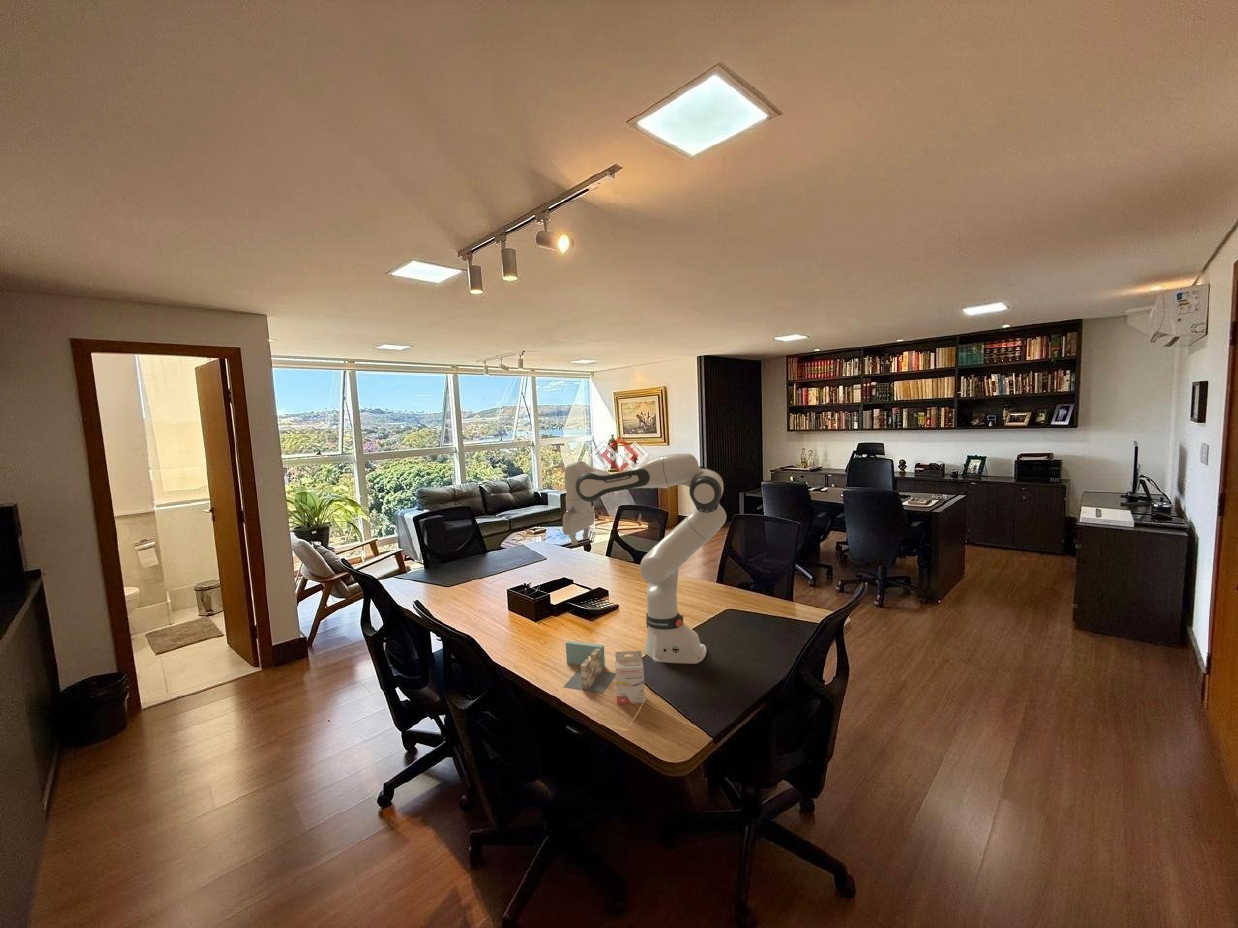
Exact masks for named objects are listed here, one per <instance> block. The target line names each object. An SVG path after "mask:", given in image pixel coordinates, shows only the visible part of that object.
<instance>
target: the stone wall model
mask: <svg viewBox="0 0 1238 928" xmlns="http://www.w3.org/2000/svg"><path fill="white" fill-rule="evenodd" d="M580 668H581V679H582V689H583V690H588V688H589V687H590V686H591V685H592V683H593V682H594V681H595V680H596V678H597V677H598V676H599V675H600V673H601V672H602V671H603V669H602V666H601V649H595V650H594V651H593V652H592V653H591V656H590V659H589V658H588V659H586V660H585V661H584V662H583V663H582V664H581V666H580ZM583 690H582V691H583Z"/></svg>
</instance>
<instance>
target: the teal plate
mask: <svg viewBox="0 0 1238 928" xmlns="http://www.w3.org/2000/svg"><path fill="white" fill-rule="evenodd" d="M595 649H601V666H602V670H603V669H604V668H605V667H606V659H605V656H606V655H605V645H604V644H598V643H597V644H596V643H590V642H589V643H588V642H582V641H581V642H580V641H573V640H567V641H566V642H565V652H566V653H565V654H566V657H565V658H566V664H567V665H574V666H580V667H581V664H582V663H583V662H584V661H585V660H586V659H589V657H591V653H592V652H593V651H594V650H595Z"/></svg>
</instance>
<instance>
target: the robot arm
mask: <svg viewBox="0 0 1238 928" xmlns="http://www.w3.org/2000/svg"><path fill="white" fill-rule="evenodd" d="M724 482H725V481H724V478H723V477H722V475H721V474H720V473H719V472H718V471H716V470H713V469H712V468H707V467H705V466H700V465H699V462H698V459H697V458H696V457H695V455H693V454H690V453H674V454H673V453H672V454H665V455H661V456H658V457H654V458H651V459H648V460H646V461H644V462H642V463H640V464H639V465H637V466H635V467H632V468H630V469H628V470H624V471H618V472H614V473H613V472H612V473H610V472H609V471H607V470H603V469H600V468H596V467H593V466H591V465H589V464H587V462H585V461H577V462H573V463H569V464H568V465H567V466H565V469H564V488H565V509H566V511H565V513H564V515H563V517H562V534H563V535H564V536H568V537H569V539H570V541H571V546H577V545H578V543H579V542H578V539H577V533H579V532H582V531H583V532H582V533H583V534H582V539H583V540H588V539H589V533H590V527H591V526H593V525H594V524H595V518H596V517H595V513H596V512H595V505H596V503H595V501H596V500H598V499H599V498H603V496H605V495H608V494H609V493H614V492H615V493H616V492H620V491H625V490H630V489H657V488H659V489H662V488H668V487H669V488H670V487H673V486H674V487H675V486H685V487H688V488H689V490H688V491H689V492H688V493H689V496H690V499H691V501H692V503H693V504H694V507H695V509H694V510H693V511H692V512H690V514H688V515H687V516H686V517H685V518H684V519H683V520H682V521H681V522H680V523H678V525H676V526H675V527H674V528H673V529H672V530H671V531H670V532H669V533H668V534H666V535H665V536H664V537H663V538H662V539H661V540H660V541H659V542H658V543H657V544H655V545H654V546H653V547H652V548H651V549H649V551H648V552H647V553H646V554H645V555H644V556H643V558H642V559H641V561H640V564H639V574H640V576H641V578H642V579H643V581H645V582H646V583H647V589H646V609H647V610H646V611H647V613H646V618H645V621H646V622H645V624H646V628H647V632H646V633H647V635H646V636H647V637H646V643H645V647H644V653H645V654H646V655H647V656H648V657H650V658H651V659H652V660H653V661H654V662H655V663H665V664H689V665H691V664H692V665H693V664H694V665H695V664H699V663H700V662H702V661H703V660H704V659H705V658H706V655H707V647H706V646H707V645H705V644H704V643H701V641H700V637H699V635H698V633H697V632H696V631H695V630H693V629H692V628H691V627H689V626H688V625H687V624H685V623H684V617H685V615H684V613H682V614H680V613H679V612H678V581H679V568H680V567H681V566H682V565H683V564H684V563H686V561H687V560H689V558H691V556H693V554H695V553H696V552H697V551H699V550H700V548H701V547H703V546H704V545H705V544H706V543H707V542H709V541H710V540H711V539H712V538H713V537H714V536H715V535H716V534H717V533H718V532H719V531H720V529H721V528H722V527H723V526H724V524H725V523H726V521H727V513H726V511H725V509H724V507H723V506H722V505H721V504H720V502H721V501H720V500H721V498H722V496H723V493H724V487H725V483H724Z"/></svg>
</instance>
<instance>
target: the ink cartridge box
mask: <svg viewBox="0 0 1238 928" xmlns="http://www.w3.org/2000/svg"><path fill="white" fill-rule="evenodd" d="M627 655H630V656H627ZM631 655H632V656H631ZM614 666H615V667H614V668H615V673H616V676H615V687H616V688H615V692H616V704H617V705H626V704H627V705H629V704H640V703H641V705H644V704H646V699H645V698H646V696H645V675H644V673H645V672H644V669H645V668H644V662H643V659H642V650H631V651H630V650H629V651H627V650H626V651H615V665H614Z"/></svg>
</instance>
